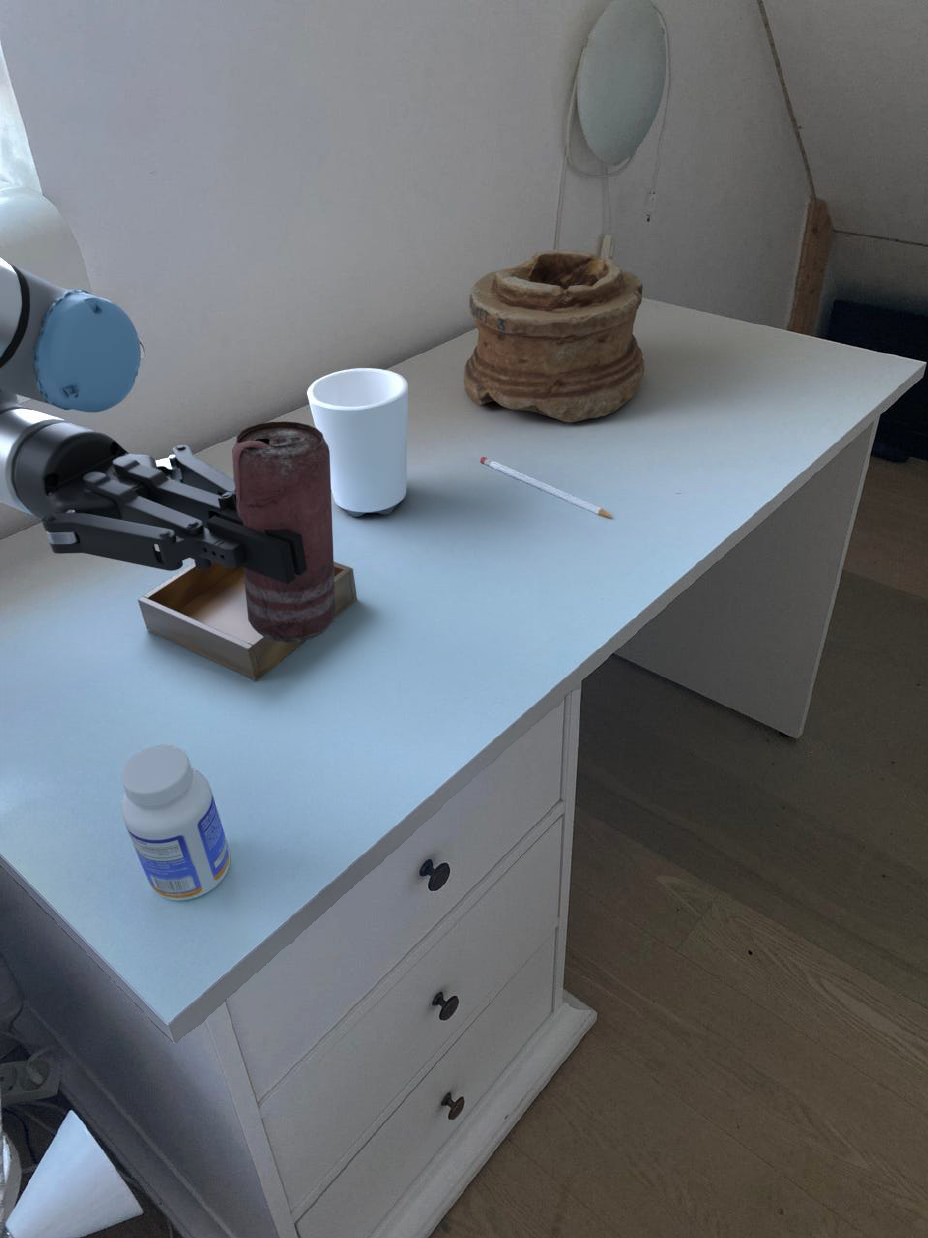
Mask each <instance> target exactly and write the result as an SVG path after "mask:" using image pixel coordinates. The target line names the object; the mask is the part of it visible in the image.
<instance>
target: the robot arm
mask: <svg viewBox="0 0 928 1238" xmlns="http://www.w3.org/2000/svg"><path fill="white" fill-rule="evenodd" d="M141 358H142V352H141V343H140V338H139V335H138V332H137V329H136V327H135V325H134V322H133V321H132V319H131V318H130V317H129V315H128V314H127V312H125V311H124V310H123V308H121V307H120V306H119V305H117V304H116V303H115V302H113V301H112V300H109V299H106V298H103V297H99V296H96V295H93V294H92V293H90V292H89V291H86V290H84V289H83V290H82V289H66V288H63V287H61V286H58V285H56V284H54V283H51V282H49V281H47V280H45V279H43V278H41V277H39V276H38V275H35V274H34V273H32V272H30V271H28V270H25V269H24V268H22V267H20V266H18V265H15V264H13V263H11V262H9V261H7V260H4V259H3V258H1V257H0V503H1V504H4V505H7V506H9V507H11V508H13V509H16V510H17V511H18V510H19V511H21V512H24V513H26V514H28V515H31V516H35V517H36V518H38V519H40V520H41V523H42V526H43V528H44V532H45V534H46V537H47V540H48V542H49V545H50V548H51V551H52V553H54V554H57V555H58V554H59V555H61V554H62V555H63V554H85V555H86V554H87V555H91V556H95V557H101V558H104V559H110V560H114V561H121V562H124V563H128V564H134V565H139V566H143V567H149V568H154V569H158V570H164V571H167V572H169V571H170V572H173V571H177V570H179V569H181V568H183V566H184V562H183V561H185V560H188V559H191V560H194V562H195V565H196V569H198V570H204V569H207V568H210V567H211V566H212V561H213V562H216V563H218V564H221V565H224V566H226V567H229V568H238V567H239V566H241V567H244V568H246V569H249V570H251V571H254V572H257V573H259V574H262V575H264V576H267V577H269V578H272V579H274V580H277V581H280V582H282V583H285V584H287V585H288V584H289V583H291V582H292V581H293V580H295V579H296V577H295V574H296V575H299V576H300V575H302V574H303V573H304V572H306V571H307V564H306V558H305V552H304V547H303V541H302V535H301V534H299V533H296V532H293V531H290V530H287V529H283V530H264V531H265V534H263V533H260V532H257V531H255V530H252V529H249V528H246V527H244V526H243V521H242V520H241V519H240V517H239V516H238V510H237V500H236V490H235V484H234V478H233V477H230V476H228V475H227V474H225V473H224V472H222V471H220V470H218V469H217V468H215V467H213V466H212V465H210V464H208V463H207V462H205V461H204V460H201V459H200V458H198V457H197V456H195V455H194V454H193V452H192V449H191V447H190V445H188V444H177V445H175V446H174V447H173V448H172V452H173V454H170V455H169V456H168V457H167V458H166V457H165V458H161V459H157V460H156V459H155V458H154V457H153V456H152V455H151V456H150V455H149V454H135V453H129V451H127V450H126V449H125V448H123V446H121V444H119V443H118V442H117V441H116V440H115V439H114V438H112V437H111V436H109V435H107V434H106V433H103V432H100V431H97V430H95V429H91V428H88V427H85V426H83V425H80V424H76V423H72V422H70V421H68V420H66V419H63V418H61V417H57V416H54V415H51V414H47V413H44V412H40V411H37V410H34V409H31V408H28V407H27V406H26V407H25V406H23V405H21V404H20V401H19V398H18V396H20V397H24V398H28V399H31V400H35V401H37V402H41V403H43V404H47V405H50V406H53V407H55V408H57V409H60V410H64V411H70V410H74V411H78V412H84V413H100V412H104V411H107V410H109V409H111V408H115V407H116V406H118V405H119V404H120V403H121V402H122V401H123V400H124V399H125V398H126V397H127V396H128V395H129V393H130V392H131V391H132V389H133V387H134V385H135V383H136V379H137V377H138V375H139V368H140V367H141V360H142V359H141ZM155 545H157V546H158V550H156V546H155Z"/></svg>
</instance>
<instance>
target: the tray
mask: <svg viewBox="0 0 928 1238" xmlns="http://www.w3.org/2000/svg"><path fill="white" fill-rule="evenodd" d="M354 573H355V572H354V568H353V567H350V566H348V565H344V564H342V563H340V562H336V561H334V585H335V613H336V614H335V617H334V619H335V618H336V617H337V616H338V615H340V614H341V613H342V612H343V611H345V610H346V609H347V608H348V607H350V606H351V605H352V604H353V603H354V602H355V601H357V600H358V596H357V588H356V587H357V586H356V581H355V574H354ZM137 602H138V605H139V608H140V611H141V615H142V618H143V622H144V624H145V628H146V631H147V632H150V633H152V634H153V635H156V636H158V637H160V638H162V639H164V640H165V641H166V640H167V641H169V642H171V643H173V644H175V645H176V646H179V647H182V648H184V649H186V650H188V651H190V652H192V653H194V654H196V655H198V656H200V657H202V658H204V659H207V660H209V661H211V662H213V663H216V664H218V665H220V666H222V667H224V668H226V669H228V670H230V671H233V672H234V673H237V674H239V675H241V676H243V677H246V678H248V679H249V680H252V681H254V682H257V681H258V680H259V679H261V678H262V677H263V676H264V675H265V674H267V673H268V672H269V671H271V670H272V669H273V668H274V667H275V666H277V665H278V664H279V663H280V662H282V661H283V660H284V659H286V657H288V656H290V654H292V653H293V652H294V651H295V650H296V649H298V648H299V647H300V646H301V645H303V644H304V643H305V642H306V641H307V640H305V641H301V642H279V641H274V640H271V639H268V638H265V637H264V636H262V635H261V634H259V633H258V632H257V631H256V630H255V629H254V628H253V627H252V625H251V624H250V622H249V621H248V611H247V601H246V591H245V581H244V571H243V567H241V566H239V567H238V568H229V567H226V566H224V565H221V564H218V563H216V562H213V561H212V566H211V567H210V568H207V569H204V570H198V569H196V565H195V561H194V562H192V564H190V565H188V566H187V567H185V568H183V569H182V570H181V571H179V572H177V573H176V574H174V575H173V576H171V577H170V578H168V579H166V580H165V581H164V582H162V583H161V584H159V585H157V586H156V587H155V588H153V589H152V590H150V591H149V592H146V593H145V594H144V595H142V596H141V597H140V598H137Z"/></svg>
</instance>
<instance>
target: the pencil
mask: <svg viewBox="0 0 928 1238" xmlns="http://www.w3.org/2000/svg"><path fill="white" fill-rule="evenodd" d="M479 462H480V464H483V465H485V466H487V467H489V468H491V469H494V470H496V471H499V472H501V473H503V474H505V475H507V476H510V477H512V478H514V479H516V480H518V481H521V482H523V483H525V484H527V485H530V486H532V487H534V488H536V489H539V490H541V491H543V492H546V493H548V494H550V495H552V496H554V497H556V498H559V499H561V500H563V501H565V502H568V503H570V504H572V505H575V506H577V507H579V508H581V509H583V510H586V511H588V512H590V513H593V514H595V515H597V516H599V517H603V518H608V519H614V517H613V516H612V515H611V514H610V513H609V512H607V511H606V510H605V509H603V508H602V507H599V506H597V505H594V504H592V503H590V502H588V501H585V500H584V499H581V498H579V497H576V496H574V495H571V494H569V493H567V492H565V491H563V490H561V489H558V488H556V487H554V486H552V485H549V484H547V483H545V482H542V481H540V480H538V479H536V478H533V477H531V476H529V475H526V474H524V473H522V472H521V471H520V472H519V471H517V470H516V469H513V468H511V467H509V466H506V465H504V464H501V463H499V462H497V461H495V460H492V459H490V458H488V457H486V456H483V457H481V458H480V460H479Z"/></svg>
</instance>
